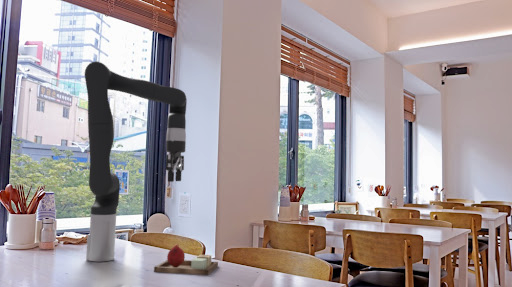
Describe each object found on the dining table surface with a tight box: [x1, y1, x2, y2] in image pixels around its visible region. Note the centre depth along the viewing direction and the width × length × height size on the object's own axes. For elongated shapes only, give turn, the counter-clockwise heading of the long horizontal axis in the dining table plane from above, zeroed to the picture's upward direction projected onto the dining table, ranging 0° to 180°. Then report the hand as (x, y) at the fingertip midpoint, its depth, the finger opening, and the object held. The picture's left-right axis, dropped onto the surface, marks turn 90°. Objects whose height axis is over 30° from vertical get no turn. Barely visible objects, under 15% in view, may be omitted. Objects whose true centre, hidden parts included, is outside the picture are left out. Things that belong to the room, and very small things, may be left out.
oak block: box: [196, 254, 212, 269], centre depth 148 cm, size 4×4×4 cm
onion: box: [166, 243, 186, 268], centre depth 147 cm, size 6×6×8 cm
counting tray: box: [153, 259, 219, 276], centre depth 146 cm, size 18×13×3 cm
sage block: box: [191, 257, 207, 269], centre depth 142 cm, size 4×4×4 cm
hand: (174, 181), depth 170 cm, fingers open, 8 cm apart
